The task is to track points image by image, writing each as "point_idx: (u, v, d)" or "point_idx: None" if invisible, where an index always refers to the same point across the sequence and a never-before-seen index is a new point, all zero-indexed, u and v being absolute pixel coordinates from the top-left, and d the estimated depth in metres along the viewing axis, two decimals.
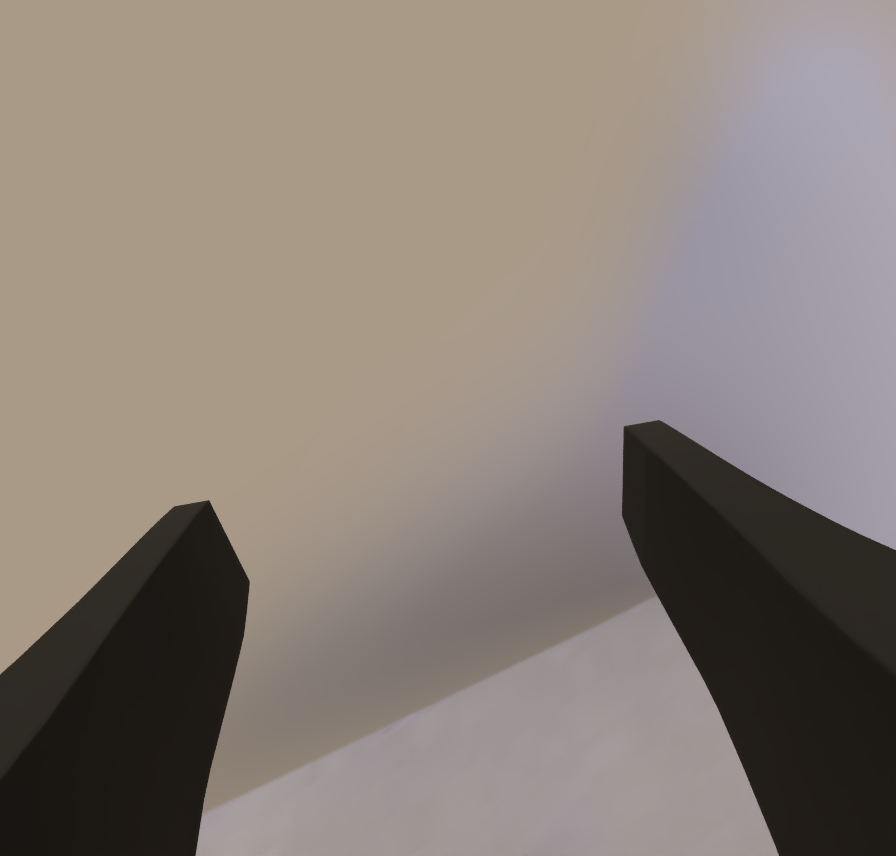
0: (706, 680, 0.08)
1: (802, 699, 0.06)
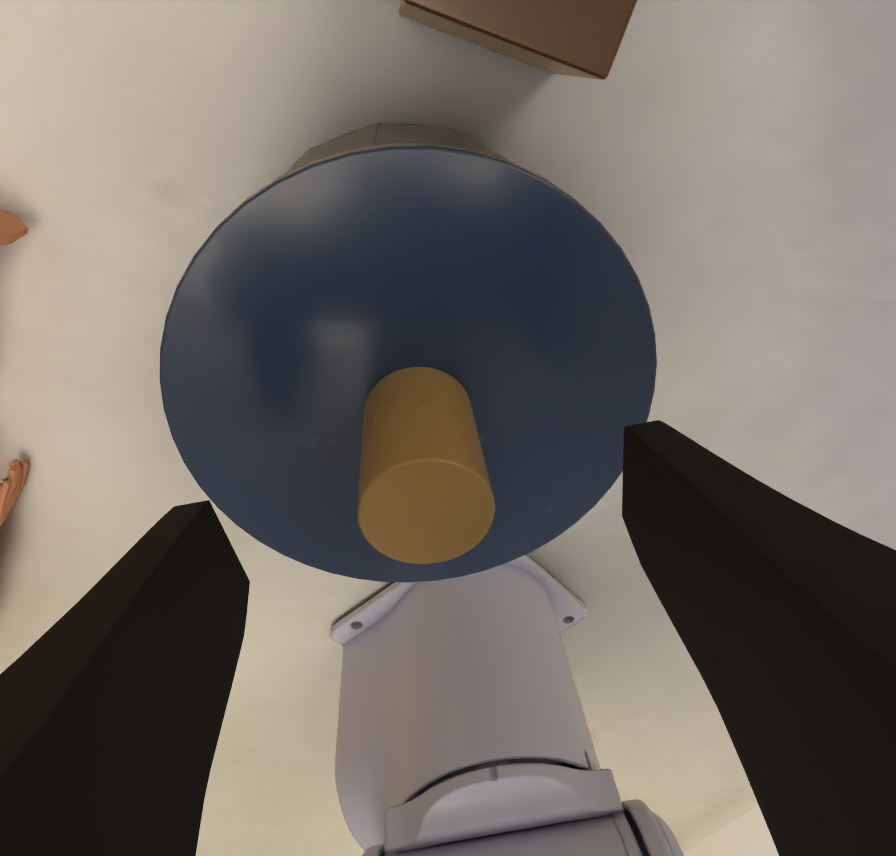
0: (706, 680, 0.08)
1: (802, 699, 0.06)
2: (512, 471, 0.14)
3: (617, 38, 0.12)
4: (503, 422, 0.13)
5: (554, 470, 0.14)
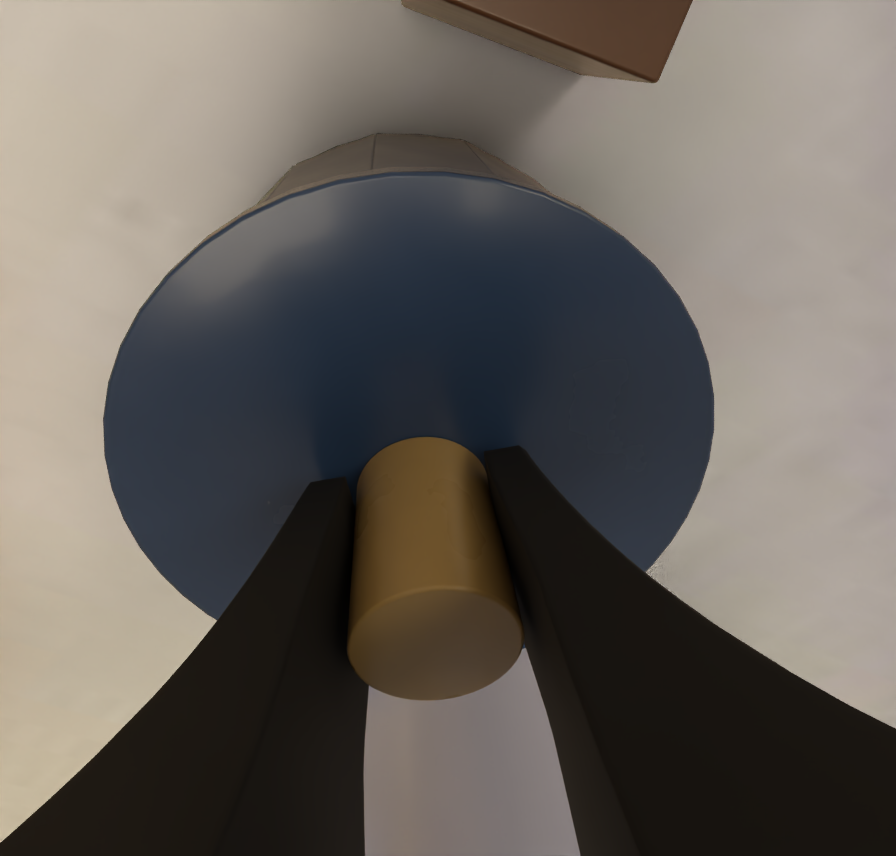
0: (545, 708, 0.08)
1: (572, 739, 0.06)
2: None
3: (673, 32, 0.09)
4: None
5: None
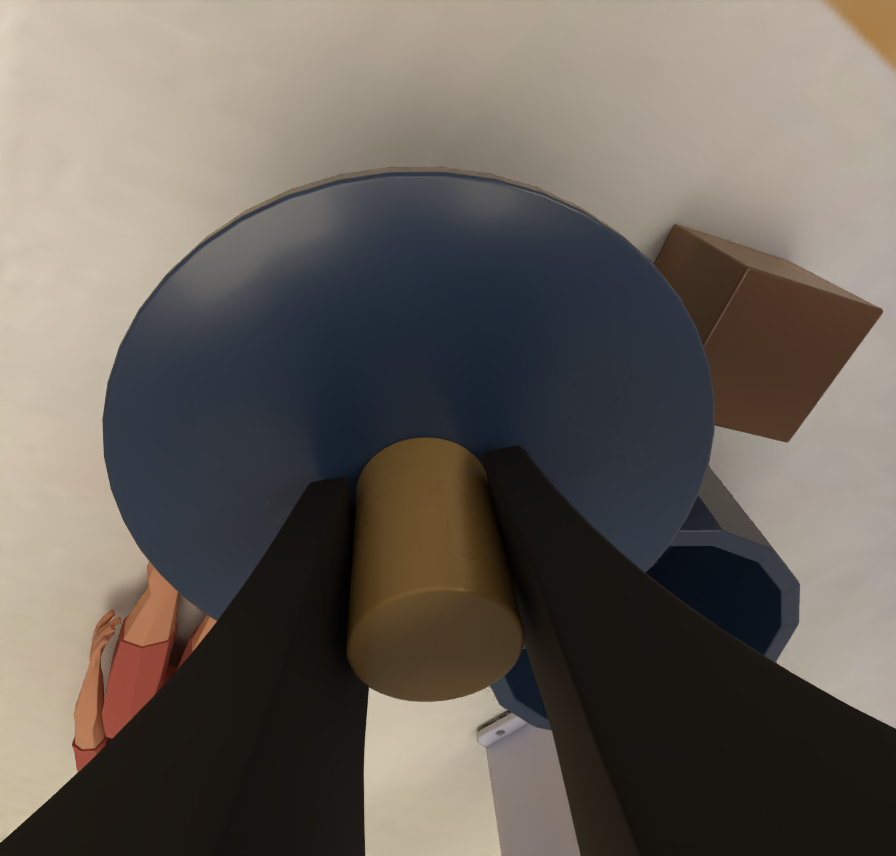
0: None
1: (571, 739, 0.06)
2: None
3: (799, 423, 0.17)
4: None
5: None
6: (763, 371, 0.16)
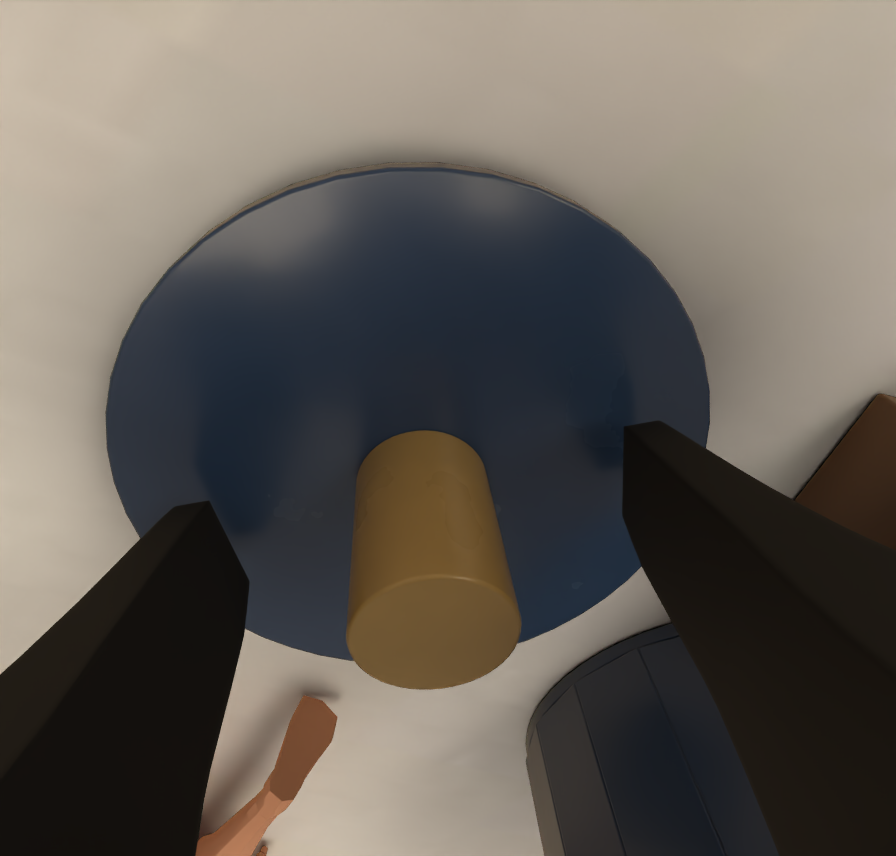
0: (706, 680, 0.08)
1: (802, 699, 0.06)
2: (533, 544, 0.12)
3: None
4: (524, 491, 0.11)
5: (582, 542, 0.12)
6: None
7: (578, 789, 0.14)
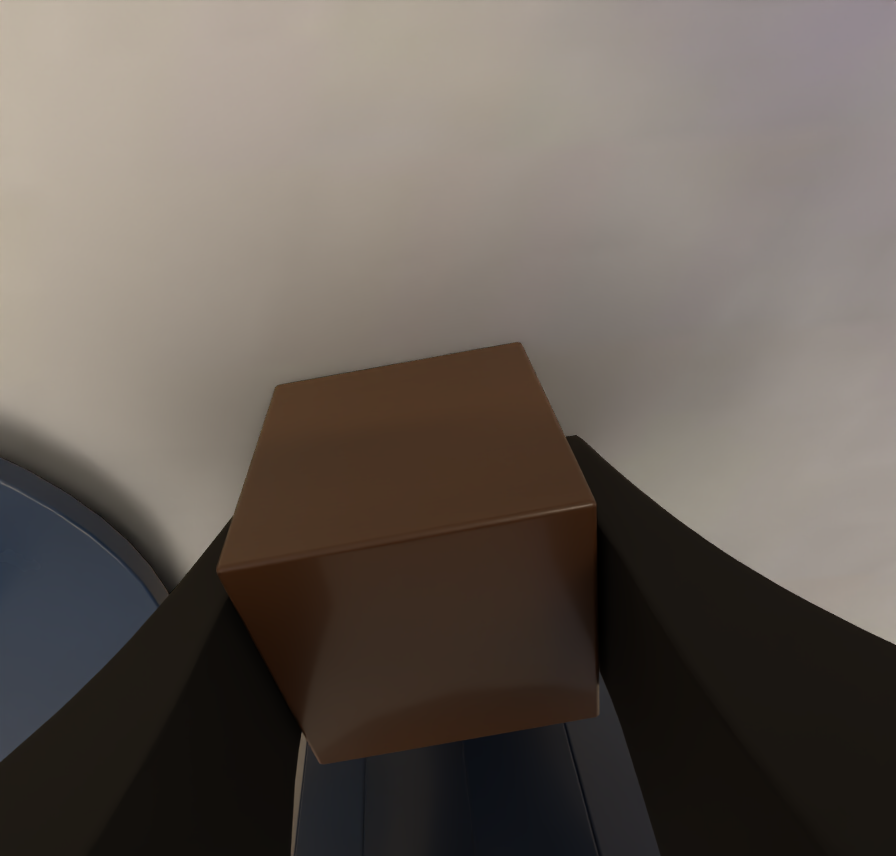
0: (611, 696, 0.08)
1: (666, 723, 0.06)
2: (45, 657, 0.12)
3: (592, 692, 0.08)
4: None
5: (86, 641, 0.12)
6: (433, 669, 0.08)
7: None
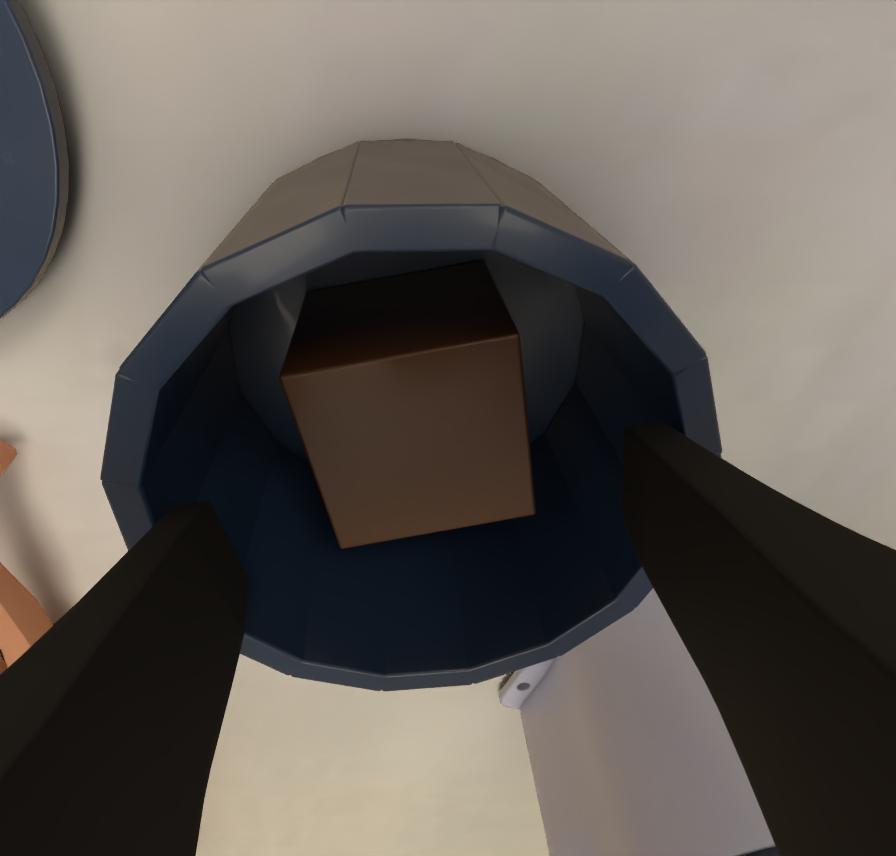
0: (706, 680, 0.08)
1: (802, 699, 0.06)
2: None
3: (529, 491, 0.12)
4: None
5: None
6: (419, 465, 0.12)
7: None
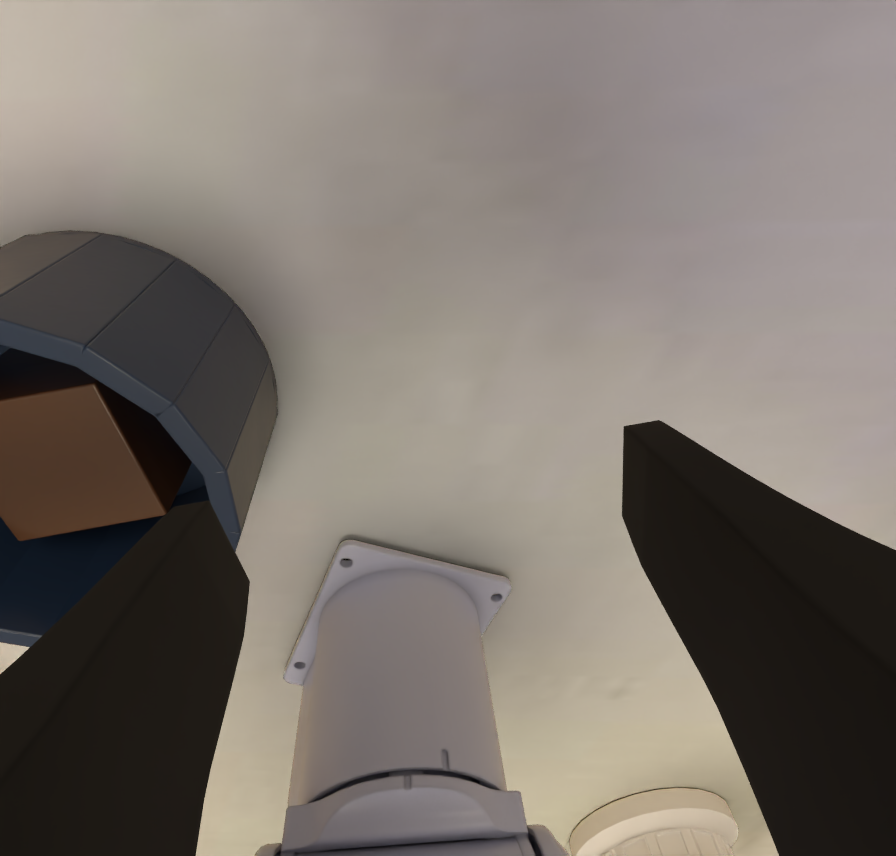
0: (706, 680, 0.08)
1: (802, 699, 0.06)
2: None
3: (153, 497, 0.16)
4: None
5: None
6: (56, 477, 0.16)
7: None
